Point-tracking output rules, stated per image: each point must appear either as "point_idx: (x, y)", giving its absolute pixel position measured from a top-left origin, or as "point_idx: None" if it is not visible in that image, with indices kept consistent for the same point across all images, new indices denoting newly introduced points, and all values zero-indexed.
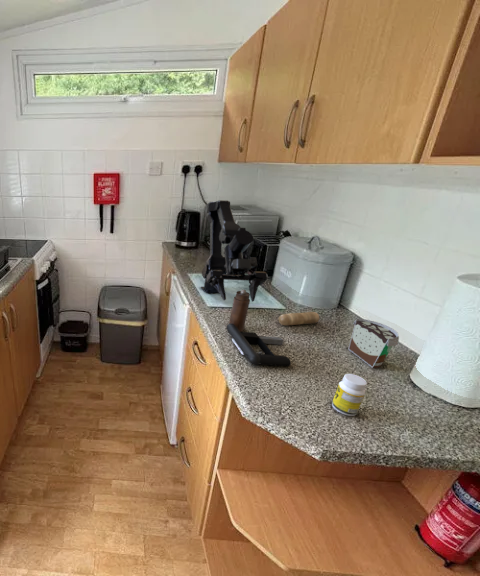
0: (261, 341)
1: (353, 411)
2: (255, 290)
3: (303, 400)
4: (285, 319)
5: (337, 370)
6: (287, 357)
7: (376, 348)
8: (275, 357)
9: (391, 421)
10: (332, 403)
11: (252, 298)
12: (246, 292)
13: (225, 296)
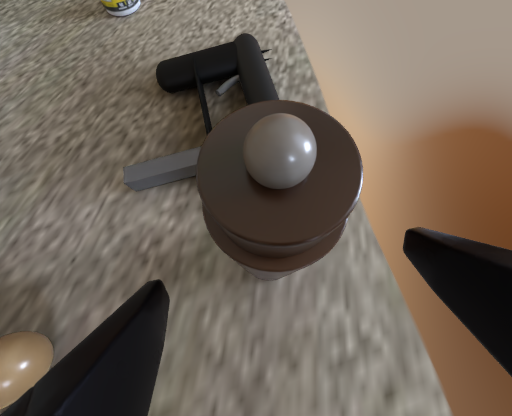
0: (206, 117)
1: None
2: (42, 392)
3: (182, 6)
4: (12, 339)
5: (53, 99)
6: (158, 70)
7: None
8: (192, 55)
9: (67, 4)
10: (137, 2)
11: (155, 300)
12: (228, 199)
13: (431, 235)
